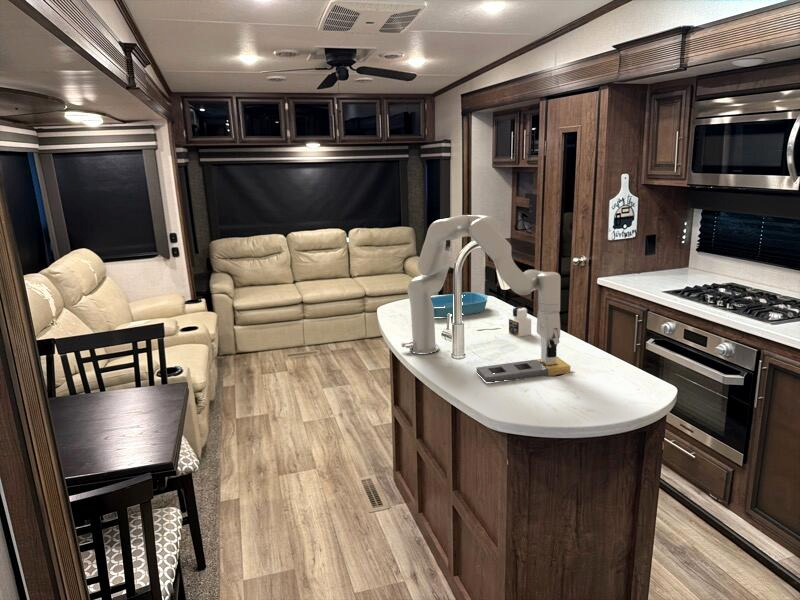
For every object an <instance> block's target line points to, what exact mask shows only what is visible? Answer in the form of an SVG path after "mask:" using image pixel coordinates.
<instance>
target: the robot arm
mask: <svg viewBox="0 0 800 600" xmlns="http://www.w3.org/2000/svg"><path fill="white" fill-rule="evenodd" d="M500 230H501V226H500V222H499V221H498V220H497V218H495V217H494V216H491V215H470V214H461V215H456V216H452V217H448V218H443V219H442V218H441V219H437V220H435V221H433V222H432V223H431V224H430V225H429V227H428V228H427V233H426V236H425V238H424V239H425V240H424V243H423V246H422V247H421V248H422V249H421V252H420V256H419V259H418V261H417V270H418V273H420V275H418V276H416V277H413V278H412V279H411V280H410V281H409V282H408V284H407V296H408V299H409V300H408V301H409V305H410V317H411V335H412V338H411V339H410V340H409V341H407V342H401V348H406V349H410V350H409V352H410V351H412V352H415V353H431V352H435V351H437V350H438V351H439V350H440V346H439V344H437V343H436V327H435V325H436V323H435V318H434V307H433V303H432V301H431V297H433V296H434V295H436V294H438V293H439V292H440V291H441V290H442V288H443V287H444V284H445V281H446V277H447V276H448V272H449V269H450V265H451V257H450V254H449V253H448V251H446V247H447V246H446V245H447V241H453V240H458V239H461V238H464V237H471V238H472V239H473V241H474V242H475V243H476V244H477V245H478V246H479V247H480V248H481V249H482V250H483V251H484V252H485V254H487V256H488V257H489V258H490V259H491V260H492V262H493V264H494V267H495V269H496V271H497V273H498V275H499V276H500V278H501V279H502V281H503V282H504V283H505V284H506V285H507V286H508V287H509V288H510V290H512V291H513V292H514V293H515V294H517V295H519V296H527V295H529V294H531V293H532V292H533V291H534V292H535V291H537V292H538V295H537V296H538V299H537V300H538V301H537V302H538V303H537V304H538V309H537V316H536V317H537V318H536V333H537V335H539V336H540V337H541V336H542V337H543V338H545V339H546V340H548V346H549V347H547V357H548V358H551V357H556V347H557V348H558V344H560V342H561V341H560V337H561V317H560V316H561V315H560V312H561V275H560V273H559V272H555V271H542V270H538V269H527V270H525V271H524V272H523V270H521V269H520V268H519V267H518V265H517V264H516V263H515V261H514V260H513V257H512V245H511V243H510V242H509V241H508V240H507V239H506V238H505V237H504V236H503V235H502V234H501V233H500ZM552 337H554V338H552ZM551 340H554V341H553V342H552V343H551ZM438 351H437V352H438ZM412 352H411V353H412ZM435 353H436V352H435Z"/></svg>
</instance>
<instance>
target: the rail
mask: <svg viewBox="0 0 800 600" xmlns="http://www.w3.org/2000/svg"><path fill="white" fill-rule="evenodd" d="M567 372H569V373H571V365H570V364H569V363H567V362H566V361H564V360H563V359H561V358H560V357H559V356H557V357H556V364H552V365H545V364H544V363H543V362H541V358H537V359H530V360H523V361H516V362H508V363H500V364H494V365H493V364H492V365H486V366H478V367H476V374H477V373H478V374H479V375H480V376H481V377H482V378H483V379H484V380H485V381H486V382H495V381H504V380H512V381H517V380H516V379H520V380H526V379H525V378H527V379H532V378H540V377H547V376H554V375H555V376H556V375H562V374H567ZM493 373H495V374H493ZM478 374H477V375H478Z"/></svg>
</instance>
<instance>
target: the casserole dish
mask: <svg viewBox="0 0 800 600" xmlns="http://www.w3.org/2000/svg"><path fill="white" fill-rule="evenodd" d="M461 293H462V295H463V298H462V302H463V305H462V313H463V314H464V315H463V316H466V315H465V314H469V315H474V314H473V313H475V314H479V313H481V312H483V311H484V310H485V308H486V306H487V303H488V295H487V294H484V293H480V292H474V291H466V292H461ZM453 294H454V293H451V294H445V295H437V296H436V295H435V296H431V301H432V303H433V307H444V306H445V308H434V317H447V314H448V313H450V314H452V317H451V318H454V317H453ZM464 295H465V296H464ZM478 312H479V313H478Z"/></svg>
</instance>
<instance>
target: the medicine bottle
mask: <svg viewBox="0 0 800 600" xmlns="http://www.w3.org/2000/svg"><path fill="white" fill-rule="evenodd" d="M508 334H510V335H513V336H514V337H517V338H521V337H525V336H526V337H527V336H529V335H530V336H531V335H532V319H531V318H530V317H528V309H527V308H526V307H524V306H516V307H514V308H512V317H509V318H508Z"/></svg>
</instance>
